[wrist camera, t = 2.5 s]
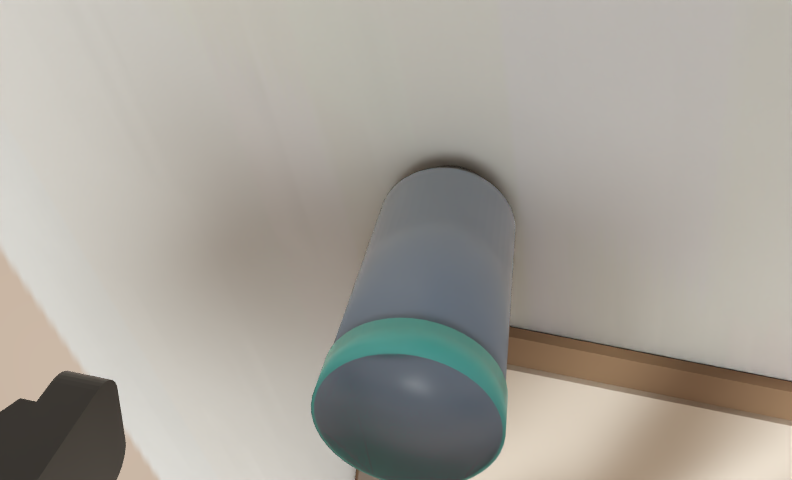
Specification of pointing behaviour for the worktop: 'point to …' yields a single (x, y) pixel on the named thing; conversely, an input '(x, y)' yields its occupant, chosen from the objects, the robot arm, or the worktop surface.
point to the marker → (425, 335)
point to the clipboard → (635, 417)
